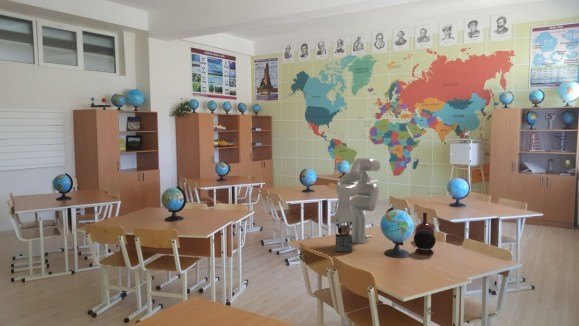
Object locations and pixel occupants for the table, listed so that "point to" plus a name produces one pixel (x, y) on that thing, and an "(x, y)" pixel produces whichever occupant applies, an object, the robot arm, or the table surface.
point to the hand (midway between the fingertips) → (343, 232)
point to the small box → (343, 243)
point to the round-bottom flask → (424, 225)
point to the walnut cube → (344, 230)
